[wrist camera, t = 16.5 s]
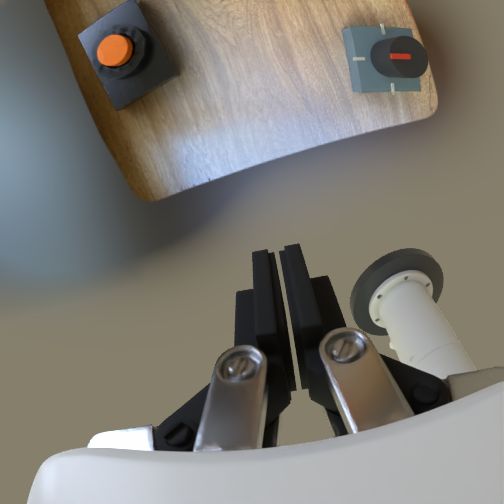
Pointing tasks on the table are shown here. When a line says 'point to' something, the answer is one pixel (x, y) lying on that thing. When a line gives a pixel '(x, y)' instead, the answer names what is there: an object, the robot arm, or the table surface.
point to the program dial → (399, 57)
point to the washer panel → (360, 63)
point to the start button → (115, 50)
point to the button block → (141, 61)
